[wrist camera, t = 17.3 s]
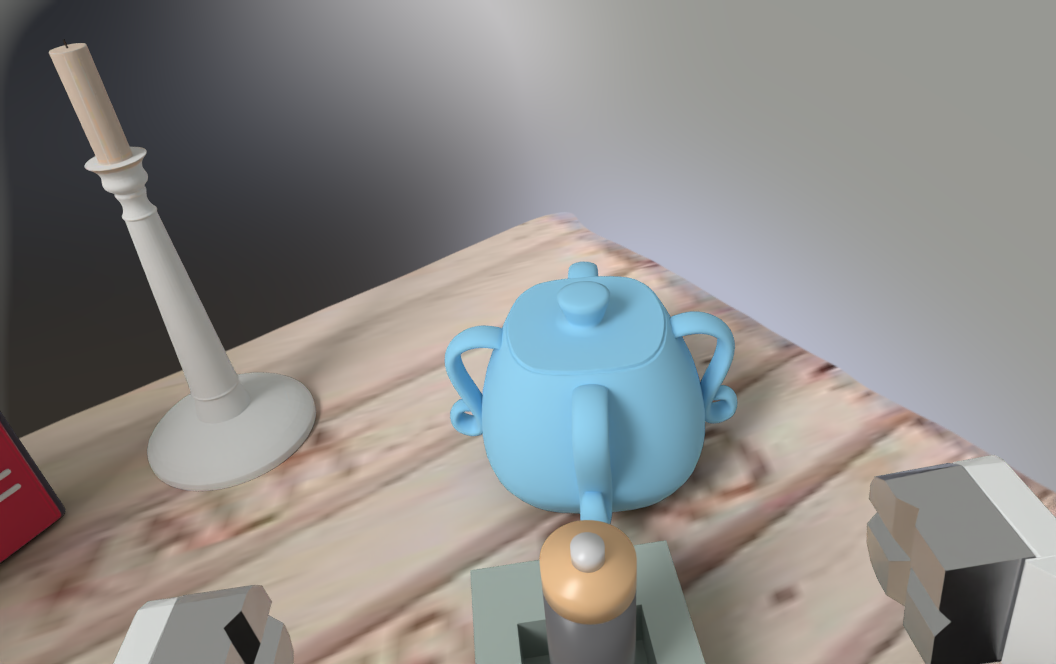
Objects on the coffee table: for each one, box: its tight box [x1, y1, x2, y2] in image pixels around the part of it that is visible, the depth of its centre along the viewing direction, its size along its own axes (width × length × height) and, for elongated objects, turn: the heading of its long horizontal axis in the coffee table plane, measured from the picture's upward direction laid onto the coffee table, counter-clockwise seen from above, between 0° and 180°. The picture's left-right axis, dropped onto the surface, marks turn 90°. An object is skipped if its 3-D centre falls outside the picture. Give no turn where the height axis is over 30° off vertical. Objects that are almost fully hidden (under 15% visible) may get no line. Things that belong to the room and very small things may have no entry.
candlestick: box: [49, 39, 316, 491], centre depth 52 cm, size 13×13×30 cm
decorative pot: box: [445, 262, 737, 524], centre depth 51 cm, size 16×16×14 cm
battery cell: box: [539, 520, 637, 664], centre depth 35 cm, size 4×4×13 cm
